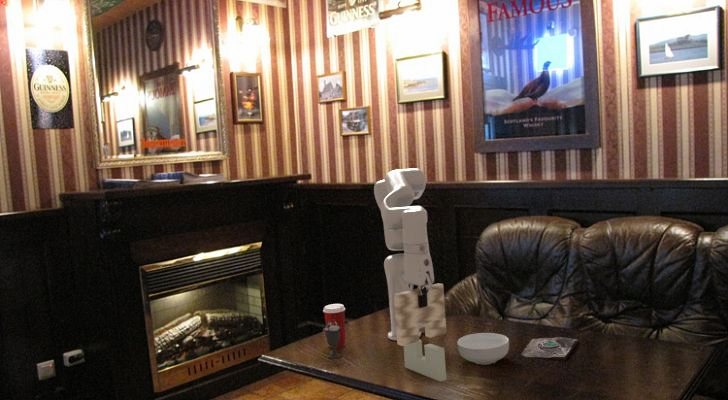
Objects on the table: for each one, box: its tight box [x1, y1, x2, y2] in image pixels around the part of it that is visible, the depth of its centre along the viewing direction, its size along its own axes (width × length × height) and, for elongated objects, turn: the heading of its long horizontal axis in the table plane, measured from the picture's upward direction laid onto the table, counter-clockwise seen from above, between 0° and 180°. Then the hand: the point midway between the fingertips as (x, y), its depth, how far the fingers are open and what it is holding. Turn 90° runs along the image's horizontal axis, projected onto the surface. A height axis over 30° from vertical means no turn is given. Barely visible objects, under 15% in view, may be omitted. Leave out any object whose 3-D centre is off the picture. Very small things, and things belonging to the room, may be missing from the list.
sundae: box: [322, 316, 342, 360], centre depth 232 cm, size 7×7×15 cm
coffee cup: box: [322, 303, 346, 349], centre depth 244 cm, size 8×8×15 cm
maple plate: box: [394, 282, 447, 347], centre depth 208 cm, size 18×2×16 cm, turn 124°
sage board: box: [402, 339, 447, 382], centre depth 209 cm, size 2×18×10 cm, turn 34°
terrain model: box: [520, 336, 579, 362], centre depth 223 cm, size 20×15×3 cm
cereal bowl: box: [456, 332, 510, 366], centre depth 216 cm, size 17×17×7 cm
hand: (420, 305), depth 207 cm, fingers closed on maple plate, 2 cm apart
